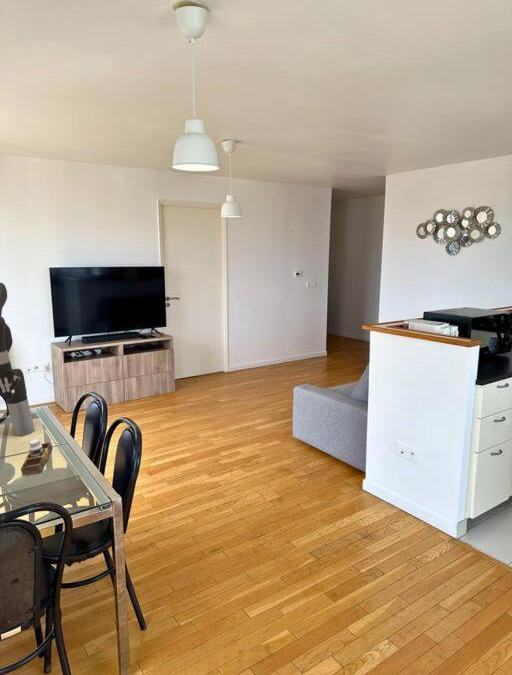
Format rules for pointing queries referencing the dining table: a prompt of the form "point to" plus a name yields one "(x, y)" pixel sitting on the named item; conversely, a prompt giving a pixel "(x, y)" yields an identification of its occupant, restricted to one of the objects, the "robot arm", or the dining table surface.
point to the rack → (36, 461)
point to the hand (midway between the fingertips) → (9, 399)
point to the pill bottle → (35, 448)
